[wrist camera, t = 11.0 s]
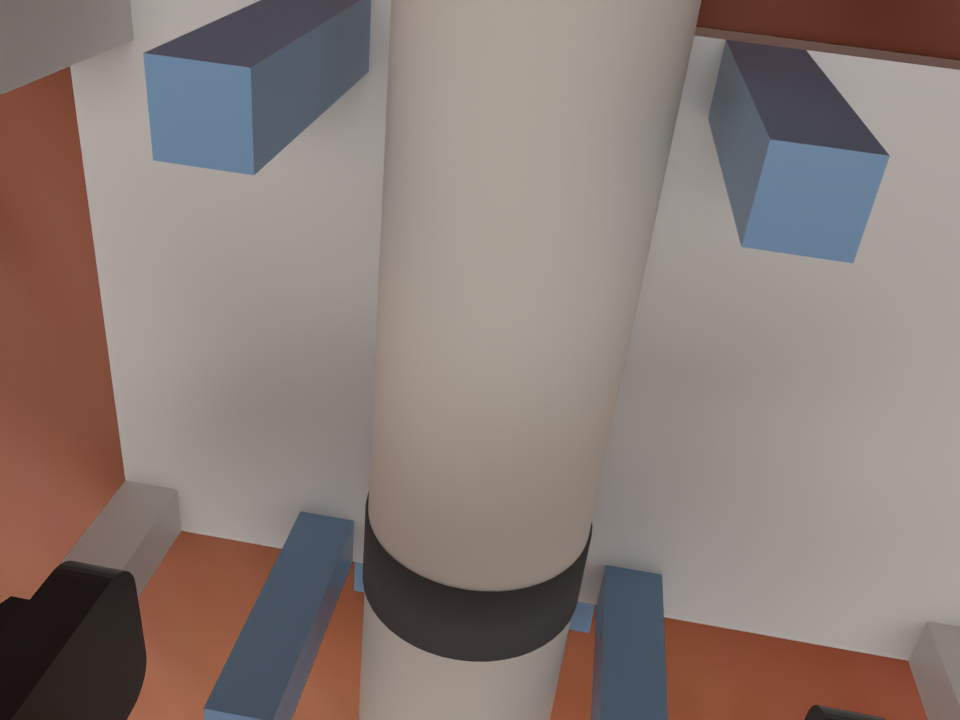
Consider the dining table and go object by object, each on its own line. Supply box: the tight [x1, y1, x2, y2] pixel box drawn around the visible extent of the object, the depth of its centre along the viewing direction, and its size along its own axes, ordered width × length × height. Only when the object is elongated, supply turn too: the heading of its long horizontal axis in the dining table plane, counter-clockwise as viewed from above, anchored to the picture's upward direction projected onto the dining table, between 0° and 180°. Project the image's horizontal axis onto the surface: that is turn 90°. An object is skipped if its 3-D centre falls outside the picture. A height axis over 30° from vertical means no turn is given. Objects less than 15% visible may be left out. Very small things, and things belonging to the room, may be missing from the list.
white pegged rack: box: [0, 0, 960, 720], centre depth 15 cm, size 26×13×6 cm, turn 84°
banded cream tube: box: [359, 0, 702, 720], centre depth 15 cm, size 16×4×4 cm, turn 174°
